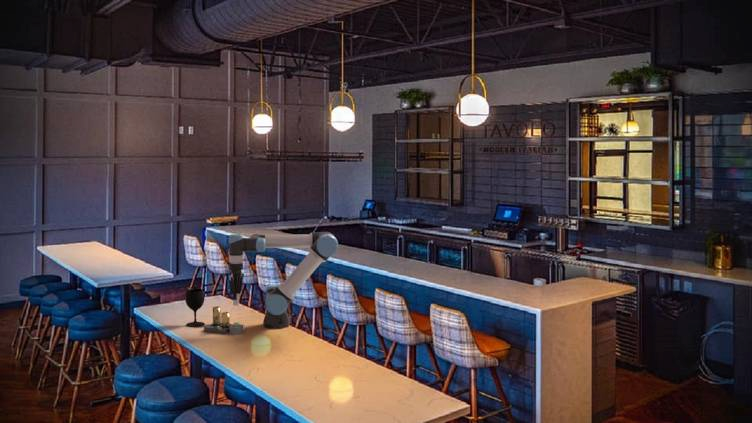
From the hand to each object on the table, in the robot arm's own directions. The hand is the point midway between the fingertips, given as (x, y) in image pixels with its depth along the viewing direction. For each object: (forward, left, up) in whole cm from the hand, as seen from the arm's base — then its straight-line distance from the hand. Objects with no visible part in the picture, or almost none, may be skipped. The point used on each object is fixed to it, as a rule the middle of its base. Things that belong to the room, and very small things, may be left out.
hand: (236, 305), depth 346 cm
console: (0, 0, -15) cm, 15 cm away
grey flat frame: (-1, -11, -15) cm, 19 cm away
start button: (0, 0, -12) cm, 12 cm away
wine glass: (-5, -30, -16) cm, 34 cm away
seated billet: (-1, -7, -16) cm, 17 cm away
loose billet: (-10, -19, -16) cm, 27 cm away
